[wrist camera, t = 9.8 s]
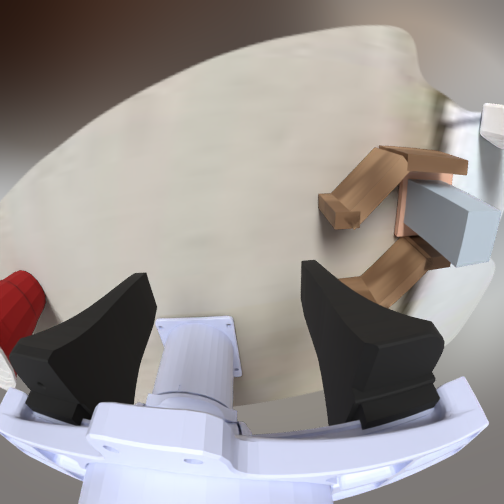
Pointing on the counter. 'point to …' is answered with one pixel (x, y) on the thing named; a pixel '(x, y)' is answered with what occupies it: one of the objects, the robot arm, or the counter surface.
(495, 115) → the pepper shaker
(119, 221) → the counter surface
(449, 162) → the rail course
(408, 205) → the slate block
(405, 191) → the coaster
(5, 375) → the plastic cup
